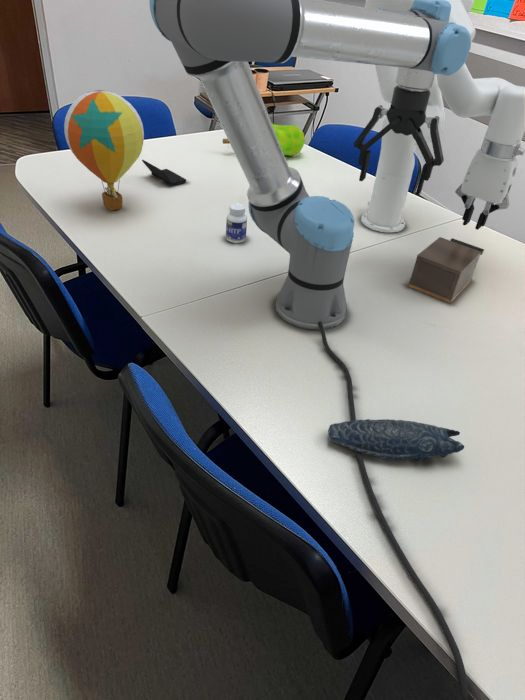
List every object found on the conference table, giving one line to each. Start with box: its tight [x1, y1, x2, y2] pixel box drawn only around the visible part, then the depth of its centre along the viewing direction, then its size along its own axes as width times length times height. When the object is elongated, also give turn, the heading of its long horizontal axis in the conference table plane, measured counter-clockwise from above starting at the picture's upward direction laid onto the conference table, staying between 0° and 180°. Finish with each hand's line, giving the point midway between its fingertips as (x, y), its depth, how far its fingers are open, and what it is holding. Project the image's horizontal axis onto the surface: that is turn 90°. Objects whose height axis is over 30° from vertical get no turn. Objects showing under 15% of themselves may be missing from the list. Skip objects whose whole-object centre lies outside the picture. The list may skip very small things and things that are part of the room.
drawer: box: [450, 237, 485, 256], centre depth 127 cm, size 18×9×6 cm, turn 142°
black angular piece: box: [141, 159, 187, 187], centre depth 162 cm, size 12×7×10 cm
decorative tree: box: [222, 123, 306, 157], centre depth 186 cm, size 18×10×30 cm
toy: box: [63, 89, 145, 212], centre depth 136 cm, size 20×20×30 cm
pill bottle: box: [225, 203, 248, 244], centre depth 133 cm, size 5×5×9 cm
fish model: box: [327, 418, 465, 461], centre depth 82 cm, size 7×21×5 cm, turn 84°
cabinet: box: [407, 236, 482, 304], centre depth 123 cm, size 13×11×8 cm
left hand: (389, 186), depth 122 cm, fingers open, 13 cm apart
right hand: (472, 225), depth 126 cm, fingers closed
